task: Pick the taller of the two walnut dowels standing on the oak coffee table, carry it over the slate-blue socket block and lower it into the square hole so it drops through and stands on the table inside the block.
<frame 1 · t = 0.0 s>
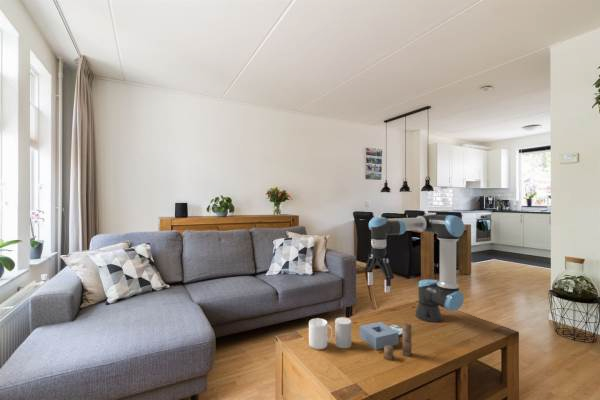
hand: (378, 288, 148), 28 cm above the table, fingers open, 13 cm apart
mug: (320, 345, 145), on the table
cup: (343, 344, 146), on the table
long dowel: (406, 354, 136), on the table
short dowel: (388, 357, 133), on the table
socket block: (378, 340, 149), on the table
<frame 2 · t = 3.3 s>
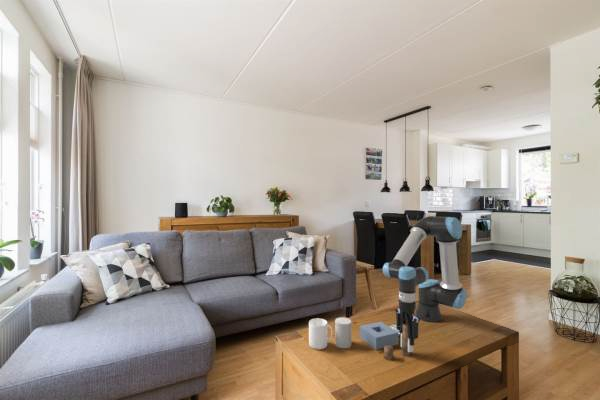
hand: (406, 348, 136), 3 cm above the table, fingers closed on long dowel, 4 cm apart
long dowel: (406, 354, 136), on the table, touching gripper
everything else where it was.
when the fingers open (7 cm above the table, at t = 7.7 s): long dowel drops 3 cm, resting in socket block.
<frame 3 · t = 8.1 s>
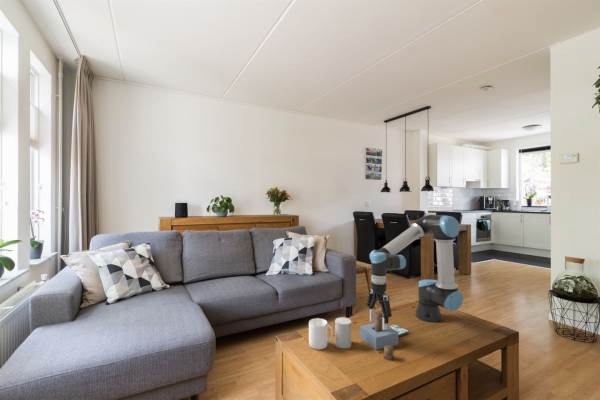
hand: (378, 325, 149), 8 cm above the table, fingers open, 10 cm apart
long dowel: (378, 340, 149), resting in socket block
everything else where it was.
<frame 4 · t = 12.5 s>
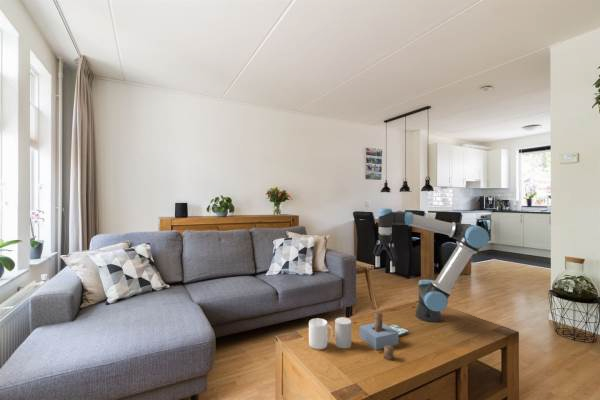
hand: (384, 269, 172), 32 cm above the table, fingers open, 13 cm apart
nothing on the table moved.
at the end: long dowel 0.0 cm off-centre on the socket block, point 0.0 cm above the socket block's base; long dowel tilted 0°; the gripper is holding nothing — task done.
